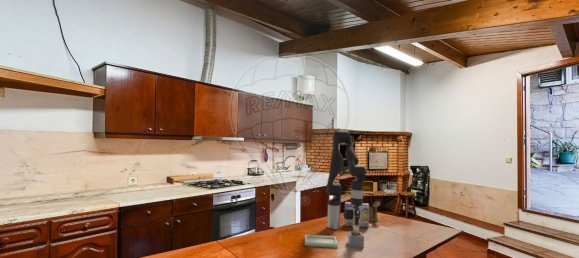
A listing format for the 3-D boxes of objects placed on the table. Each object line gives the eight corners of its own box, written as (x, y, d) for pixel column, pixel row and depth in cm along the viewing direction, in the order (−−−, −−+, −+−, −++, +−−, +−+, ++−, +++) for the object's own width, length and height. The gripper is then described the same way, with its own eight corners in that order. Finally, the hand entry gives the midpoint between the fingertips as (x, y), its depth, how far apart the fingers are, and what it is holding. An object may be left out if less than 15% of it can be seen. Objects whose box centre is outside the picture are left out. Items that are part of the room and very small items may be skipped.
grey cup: (347, 242, 191) (348, 231, 192) (361, 243, 191) (361, 232, 191) (349, 247, 183) (349, 235, 183) (363, 247, 182) (363, 236, 182)
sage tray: (305, 238, 196) (305, 234, 196) (335, 240, 195) (335, 236, 195) (304, 246, 182) (304, 242, 182) (337, 248, 181) (337, 243, 181)
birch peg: (352, 235, 189) (352, 214, 190) (358, 235, 189) (358, 214, 189) (352, 237, 185) (353, 216, 186) (359, 237, 185) (360, 216, 185)
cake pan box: (343, 225, 230) (343, 202, 230) (343, 223, 234) (344, 201, 235) (368, 228, 224) (369, 204, 225) (368, 226, 229) (369, 203, 229)
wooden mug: (372, 223, 237) (373, 200, 238) (364, 218, 251) (365, 197, 251) (382, 223, 239) (383, 200, 240) (374, 218, 253) (374, 197, 253)
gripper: (349, 194, 195) (348, 220, 195) (352, 198, 181) (351, 227, 180) (360, 194, 195) (360, 221, 194) (364, 199, 180) (364, 227, 180)
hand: (356, 223), depth 187 cm, fingers closed on birch peg, 4 cm apart
